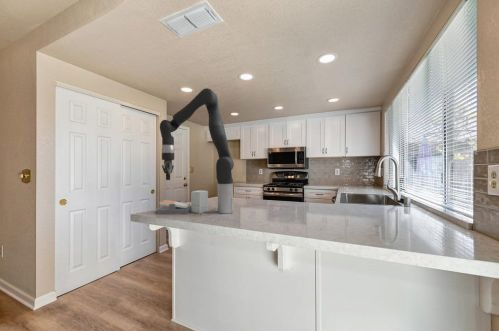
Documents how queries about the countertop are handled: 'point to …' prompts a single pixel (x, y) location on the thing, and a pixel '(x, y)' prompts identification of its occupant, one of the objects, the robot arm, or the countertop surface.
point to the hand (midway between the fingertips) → (168, 179)
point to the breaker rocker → (177, 204)
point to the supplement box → (199, 201)
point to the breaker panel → (173, 209)
